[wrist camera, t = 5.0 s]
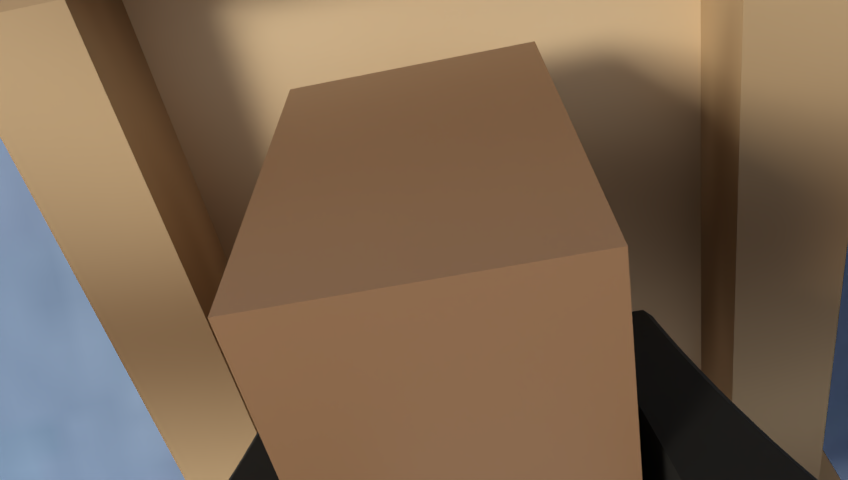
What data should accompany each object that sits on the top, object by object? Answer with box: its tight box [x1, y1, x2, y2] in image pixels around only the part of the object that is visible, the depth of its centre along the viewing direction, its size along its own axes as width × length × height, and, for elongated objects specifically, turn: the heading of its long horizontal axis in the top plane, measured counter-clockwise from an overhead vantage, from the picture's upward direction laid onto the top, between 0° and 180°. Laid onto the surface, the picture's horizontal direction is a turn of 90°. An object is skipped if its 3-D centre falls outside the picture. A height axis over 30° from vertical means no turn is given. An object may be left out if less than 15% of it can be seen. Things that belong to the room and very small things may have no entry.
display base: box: [0, 0, 848, 480], centre depth 13 cm, size 14×12×4 cm
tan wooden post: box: [208, 41, 642, 480], centre depth 9 cm, size 8×3×4 cm, turn 11°
